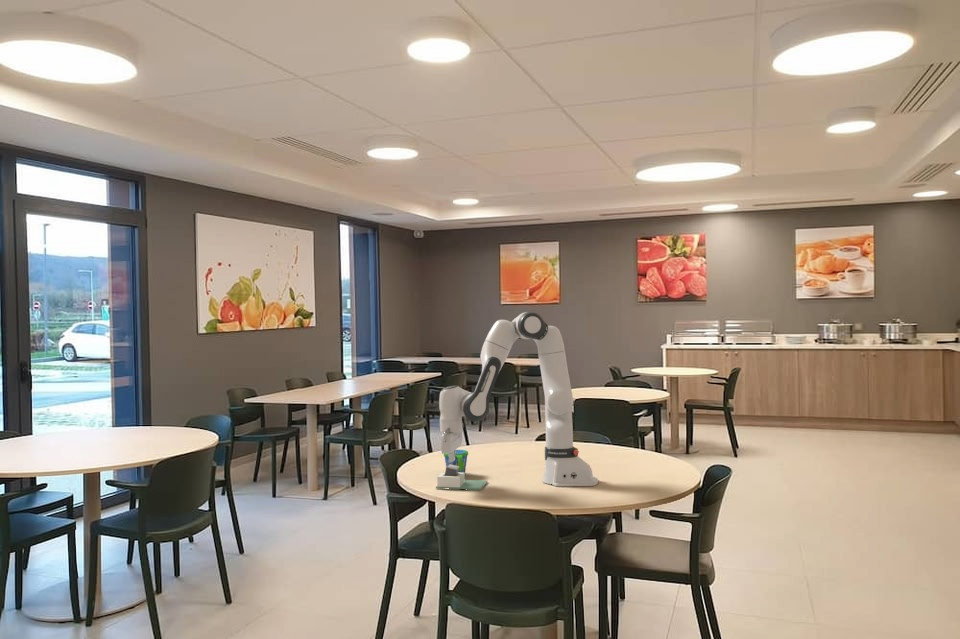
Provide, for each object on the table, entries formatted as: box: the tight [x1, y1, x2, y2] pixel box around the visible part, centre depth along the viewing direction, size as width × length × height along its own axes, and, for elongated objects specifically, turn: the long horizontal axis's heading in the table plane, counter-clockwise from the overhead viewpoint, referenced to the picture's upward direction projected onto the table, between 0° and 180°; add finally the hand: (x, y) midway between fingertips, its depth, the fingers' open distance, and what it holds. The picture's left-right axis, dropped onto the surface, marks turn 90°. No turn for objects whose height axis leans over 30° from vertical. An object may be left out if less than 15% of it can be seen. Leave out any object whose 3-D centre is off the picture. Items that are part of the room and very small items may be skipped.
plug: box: [444, 464, 459, 476], centre depth 272 cm, size 5×4×7 cm
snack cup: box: [443, 449, 469, 474], centre depth 293 cm, size 16×10×10 cm
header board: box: [435, 471, 488, 492], centre depth 273 cm, size 18×14×5 cm
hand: (452, 461), depth 272 cm, fingers closed
